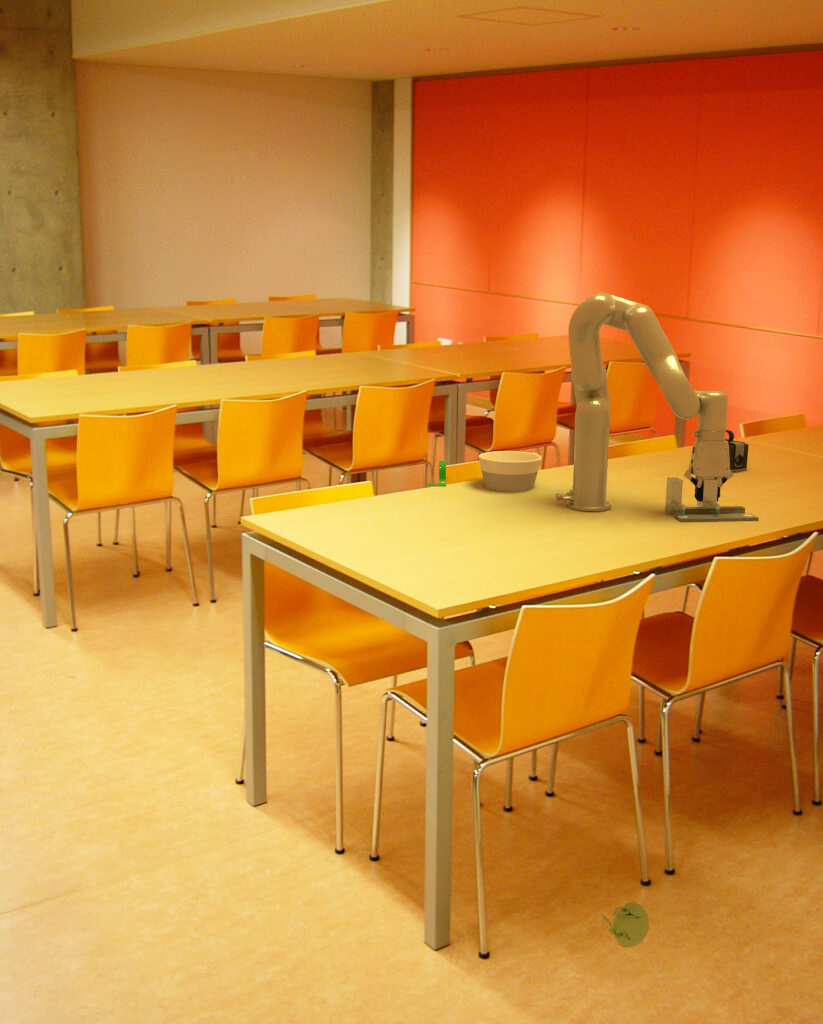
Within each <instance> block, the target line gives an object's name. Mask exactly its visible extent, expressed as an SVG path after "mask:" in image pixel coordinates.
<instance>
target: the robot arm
mask: <svg viewBox="0 0 823 1024" xmlns="http://www.w3.org/2000/svg"><path fill="white" fill-rule="evenodd" d="M569 319H570V320H569V324H568V331H567V332H568V345H569V346H568V347H569V358H570V365H571V380H572V383H573V388H574V395H575V396H574V398H575V402H576V409H575V412H574V413H575V416H574V445H573V446H574V447H573V450H574V451H573V470H572V471H573V473H572V474H573V475H572V476H573V477H572V489H569V492H568V491H567V492H566V493H561V492H560V493H559V492H558V493H555V500H556V501H562V502H566V507H568V508H569V509H571V510H576V511H580V512H581V511H582V512H583V511H584V512H602V511H609V510H611V509H612V503H611V502H610V501H607V491H608V490H607V489H608V487H607V486H608V483H607V482H608V469H609V468H608V466H609V465H608V464H609V447H610V445H609V442H610V428H611V427H610V426H611V425H610V424H611V403H610V393H609V384H608V378H607V377H608V375H607V370H606V366H605V363H604V362H603V358H602V349H601V338H600V331H601V328H602V326H603V325H605V326H608V327H612V328H614V329H618V330H621V331H624V332H627V333H628V335H629V337H630V338H631V340H632V342H633V344H634V346H635V348H636V350H637V351H638V352H639V355H640V357H641V358H642V361H643V362H644V363H645V364H644V365H645V366H646V367H647V369H648V372H649V373H650V374H651V375H652V377H653V378H654V380H655V381H656V383H657V384H658V385H657V386H658V387H659V389H660V390H661V393H662V394H663V396H664V398H665V400H666V401H667V403H668V405H669V407H670V409H671V410H672V412H673V414H674V415H675V417H677V418H678V419H681V420H690V419H693V418H695V416H697V415H698V420H697V428H696V431H692V437H694V438H696V439H694V441H693V445H692V448H691V449H692V450H691V455H690V459H689V460H690V463H689V467H688V468H687V470H686V471H685V472H684V474H683V476H684V477H685V479H687V480H689V482H691V483H692V484H693V485H694V486H695V487H694V498H695V501H696V502H697V501H699V502H701V501H702V493H703V488H702V487H701V486H702V481H703V477H713V478H715V479H717V480H718V490H717V502H719V499H720V498H721V488H722V487H723V485H724V484H725V483H726V482H727V481H728V480H730V479H731V478H733V477H734V473H732V471H731V470H730V459H729V445H728V441H725V439H726V434H727V432H726V430H727V417H728V414H727V413H728V402H729V396H728V393H726V392H724V391H721V390H696V389H694V388H693V386H692V385H691V383H690V381H689V379H688V378H687V376H686V374H685V371H684V370H683V368H682V366H681V363H680V360H679V358H678V356H677V353H676V351H675V349H674V348H673V345H672V343H670V342H671V341H670V340H669V338H668V337H667V335H666V332H664V329H663V328H662V326H661V324H660V322H659V320H658V318H657V316H656V314H655V313H654V311H653V309H652V308H651V307H650V306H649V305H646V304H643V303H639V302H636V301H632V300H628V299H626V298H623V297H619V296H617V295H614V294H611V293H607V292H603V291H599V292H595V293H593V294H590V296H589V297H588V298H586V299H585V300H583V301H582V302H581V303H580V304H579V305H578V306H577V307H576V308H575V310H574V312H573V313H572V315H571V317H570V318H569ZM692 475H694V476H692Z"/></svg>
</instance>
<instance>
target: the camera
mask: <svg viewBox="0 0 823 1024" xmlns="http://www.w3.org/2000/svg"><path fill="white" fill-rule="evenodd" d="M726 434H728V438H727V439H726V438H725V441H728V445H729V459H730V470H731V471H732V473H733V474H734V473H741V472H747V468H748V458H749V457H748V455H749V444H748V443H746V442H745V441H738V440H734V439H735V433H734V432H733V431H731V430H729V429H726Z"/></svg>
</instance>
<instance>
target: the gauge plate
mask: <svg viewBox="0 0 823 1024" xmlns="http://www.w3.org/2000/svg"><path fill="white" fill-rule="evenodd" d="M673 516H674V519H675V520H676V521H679V522H680V523H691V522H692V523H693V522H694V523H696V522H699V523H701V522H702V523H703V522H704V523H705V522H750V521H752V522H758V521H759V520H760V519H759V518H760V517H758V516H757V515H754V514H752V513H726V514H719V515H716V514H685V515H673Z"/></svg>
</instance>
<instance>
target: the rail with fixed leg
mask: <svg viewBox="0 0 823 1024" xmlns="http://www.w3.org/2000/svg"><path fill="white" fill-rule="evenodd" d="M683 483H684V480H683V479H681V478H679V477H677V476H676V477H675V476H674V477H667V478H666V491H665V505H664V506H665V507H664V512H665V513H666V514H668V515H670V516H675V515H707V514H715V510H716V508H701V507H699V506H687V505H685V503H682V500H683V499H682V498H683V486H684V485H683ZM719 514H746V507H744V506H741V505H736V506H735V505H733V506H731V505H729V506H724V505H723V506H721V505H720V509H719Z"/></svg>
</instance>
